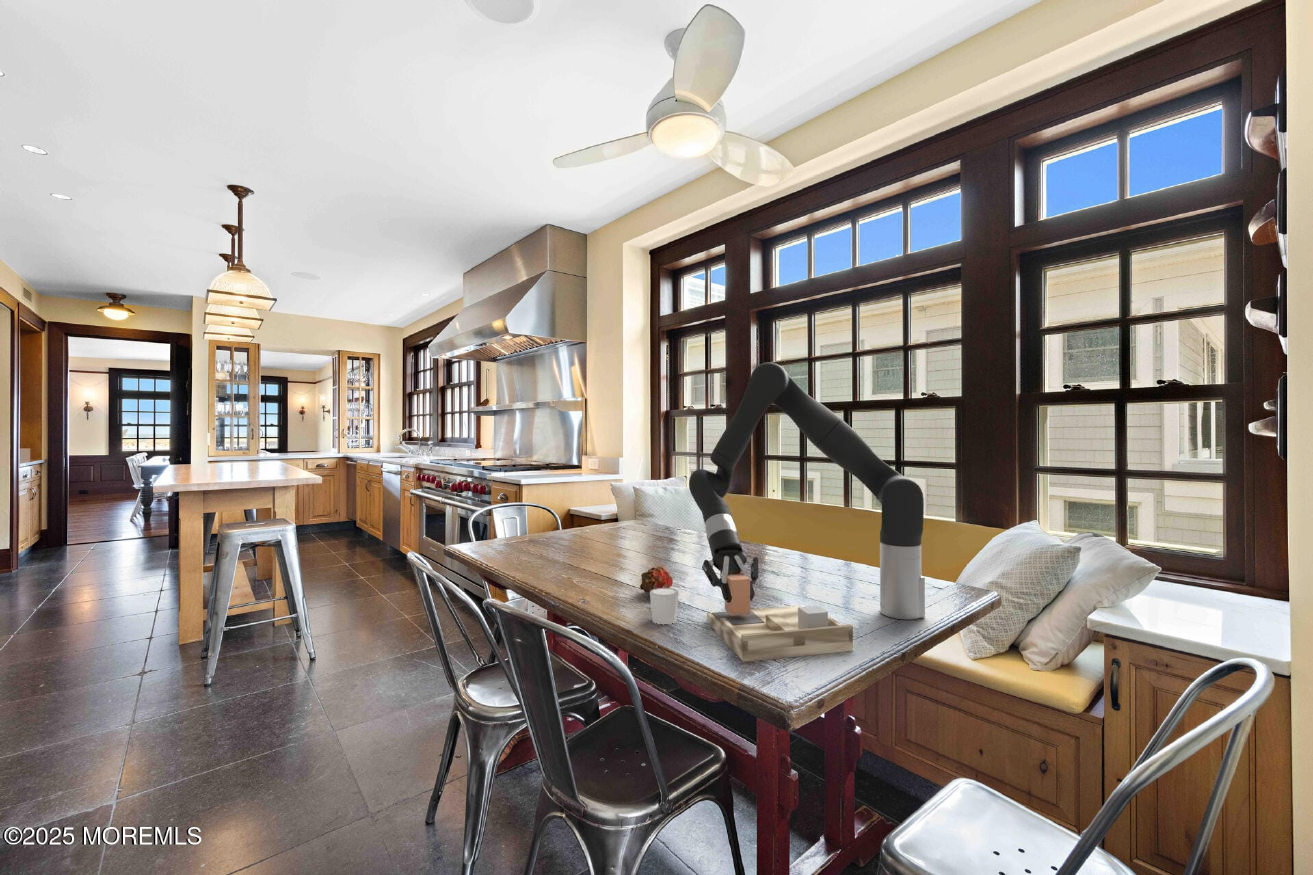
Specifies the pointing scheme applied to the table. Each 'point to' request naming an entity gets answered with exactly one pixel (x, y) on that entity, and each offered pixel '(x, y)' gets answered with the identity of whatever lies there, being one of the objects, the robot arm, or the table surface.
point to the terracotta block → (738, 595)
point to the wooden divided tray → (778, 634)
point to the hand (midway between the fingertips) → (740, 599)
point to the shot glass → (664, 605)
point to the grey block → (812, 617)
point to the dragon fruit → (655, 579)
